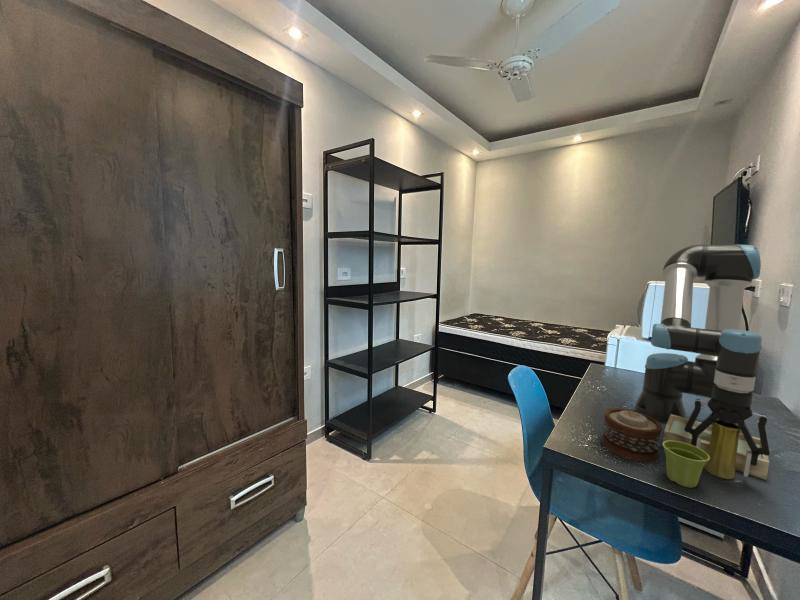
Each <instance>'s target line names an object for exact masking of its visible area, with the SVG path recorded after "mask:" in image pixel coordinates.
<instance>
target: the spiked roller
mask: <svg viewBox="0 0 800 600" xmlns="http://www.w3.org/2000/svg"><path fill="white" fill-rule="evenodd" d="M603 423H604V425H603V426H604V427H605V428H603V433H602V444H603V446H605V448H607V450H609V451H610V452H612V453H614V454H616V455H618V456H619V457H622V456H623V458H625V457H626V458H625V459H628V458H629V459H628V460H631V459H632V460H631V461H635V460H636V461H637V462H644V463H646V462H648V463H651V462H654V461H657V460H658V458H659V453H660V449H659V447H660V446H661V444H662V443H660V442H659V441H662V438H661V437H660V436H661V435H662V431H663V426H662V424H661V422H659V421H657V420H655V419H654V418H652V417H650V416H648V415H645V414H642V413H640V412H637V411H636V410H633V409H632V410H631V409H625V408H610V409H607V410H606V411H605V412H604V421H603Z"/></svg>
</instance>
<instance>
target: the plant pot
mask: <svg viewBox="0 0 800 600" xmlns="http://www.w3.org/2000/svg"><path fill="white" fill-rule="evenodd" d="M662 443H663V444H662ZM662 443H661V444H662V445H663V446H662V447H663V449H664V453H665V465H666V466H665V467H666V477H667V478H668V479H669V481H671V482H675V483H676V484H678V485H679V486H681V487H685V488H692V489H693V487H694V488H696V487H697V486H698V484H699V481H700V478H701V475H702V472H703V470H704V465H705V464H706V463H707V461H709V460H710V456H709V455H708V454H707V453H706V452H705V451H703V450H702V449H700V448H698V447H696V446H693V445H690V444H687V443H684V442H680V441H673V440H668V441H664V442H663V441H662Z"/></svg>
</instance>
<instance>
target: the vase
mask: <svg viewBox="0 0 800 600" xmlns="http://www.w3.org/2000/svg"><path fill="white" fill-rule="evenodd" d="M739 433H741V430H740V428H739V426H738V424H737V423H736V424H733V423H730V422H728V421H722V420H719V419H717V420H716V421H715V422H713V423H712V433H711V439H710V445H709V449H708V453H707V454H708V455H709V456H710V460H709V461H707V463H706V464H705V465H704V467H703V469H704V470H705V471H707V472H708V473H709V474H710V475H713V476H716V477H717V478H719V479H720V478H721V479H723V478H724V480H734V479H735V478H736V475H735V473H736V470H735V467H736V456H737V447H738V440H739Z"/></svg>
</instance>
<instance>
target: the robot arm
mask: <svg viewBox="0 0 800 600" xmlns="http://www.w3.org/2000/svg"><path fill="white" fill-rule="evenodd" d="M761 264H762V263H761V254H760V251H759V249H758V247H757V246H755V245H752V244H739V243H736V244H735V243H734V244H694V245H690V246H686V247H684V248H682V249H680V250H678V251H676V252H675V253H673V254H672V255H671V256H670V257H669V258H668V259H667V260H666V262H665V264H664V266H663V269H662V278H663V279H664V280H665V281H664V290H663V299H662V307H661V317H660V323H654V324H653V325H652V330H651V339H650V344H651V345H652V346H653V347H654V348H655V347H656V348H660V349H664V350H672V351H673V350H674V351H678V352H679V351H680V352H687V353H694V354H698V355H696V356H695V359H694V361H691V360H689V358H688V357H687V356H685V355H683V354H676V353H669V352H668V353H667V352H665V353H664V352H661V353H660V352H659V353H652V354H649V355H648V356H647V357H646V360H645V361H646V362H645V365H644V368H645V370H644V376H643V385H642V391H641V392H640V394H639V396H638V397H637V399H636V401H635V405H634V411H636V412H640V413H642V414H645V415H648V416H650V417H652V418H654V419H655V420H657V421H658V422H659V423H665V424H667V422H668V420H669V417H670V415H671V414H672V415H676V416H679V417H683V418H687V414H686V413H687V412H686V409H685V407H684V402H683V394H687V395H692V396H697V397H703V398H706V399H709V400H708V401H706V400H701V399H700V398H696V399H695V400H694V408H693V410H692V412H691V414H690V416H689V418H688V419H689V420H688V422H687V424H686V426H685V429H684V430H685V431H686V432H689V433H690V434H691V435H692V440H691V445H693V446H696V447H698V448H700V444H701V437H702V435H700V434H701V433H702V432H703V431H704V430H705V429H706V428H708V427H709V426H710V425H713V422H715V421H716V420H717V419H719V420H722V421H728V422H730V423H733V424H737V425H738V426H739V428H740V432H741V434H743V435H744V437H745V439H746V441H747V443H748V445H749V447H750V449H751V450H749V449H747V454H746V459H745V465H744V471H743V472H744V473H743V472H742V473H743V477H746V478H749V468H750V465H754V466H756V465H757V460H758V456H759V455H761V454H762V455H766V456H768V457H769V456H770V455H771V454H770V448H769V442H768V438H767V432H766V425H767V422H768V417H767V415H766V414H763V413H760V414H759V413H756V412H754V411H752V409H751V407H752V401H753V395H754V394H753V391H754V390H755V382H756V378H757V376H756V375H757V369H758V364H759V359H760V353H761V350H762V347H763V346H762V339H763V338H762V335H761V334H759V333H758V332H754V331H749V330H744V329H740V327H741V321H742V312H743V311H742V310H743V302H744V295H745V289H746V288H747V287H749V286H750V285H752V283H753V280H757V279H758V278H759V277H760V276H761V275H760V274H761V269H762V267H761ZM696 278H704V283H705V285H707V286H708V288H709V290H708V291H709V292H708V300H707V308H706V315H705V324H704V328H699V327H692V316H693V314H692V311H693V296H694V295H693V291H694V281H695V279H696ZM706 407H708V408H709V410H710V411H711V413H710V414H709V415H708V416H707V417H706V418H705V419H704V420H703V421H702V422H701V424H700V425H698V426H697V427H696V428H695V429H693V428H692V426H693V424H694V422H695V421H697V418H698V416H699V415H700V412H701V410H704V409H705V408H706ZM749 418H753V421H754V422H755V423H757V428H758V433H759V434H758V435H759V439H760V441H761V446H762V448H759V447H757V446H756V444H755V442H754V440H753V438H752V437H753V436H752V434H751V432H750V430H749V428H748V426H747V424H746V422H745V420H749Z"/></svg>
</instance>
